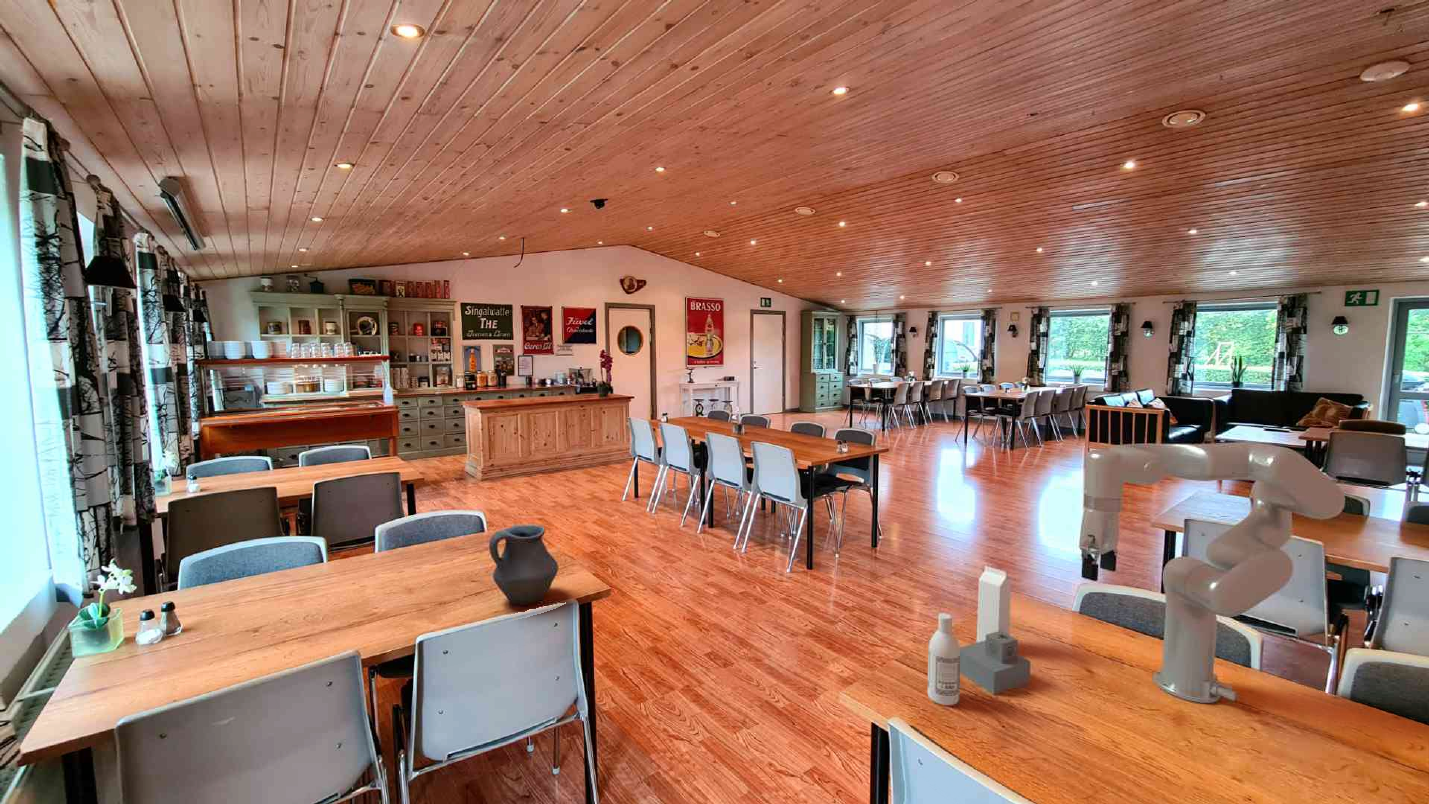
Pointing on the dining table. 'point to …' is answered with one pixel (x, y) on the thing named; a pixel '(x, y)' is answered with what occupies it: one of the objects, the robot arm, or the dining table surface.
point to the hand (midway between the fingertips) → (1098, 574)
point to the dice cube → (1001, 647)
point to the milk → (993, 603)
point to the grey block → (992, 669)
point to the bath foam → (944, 664)
